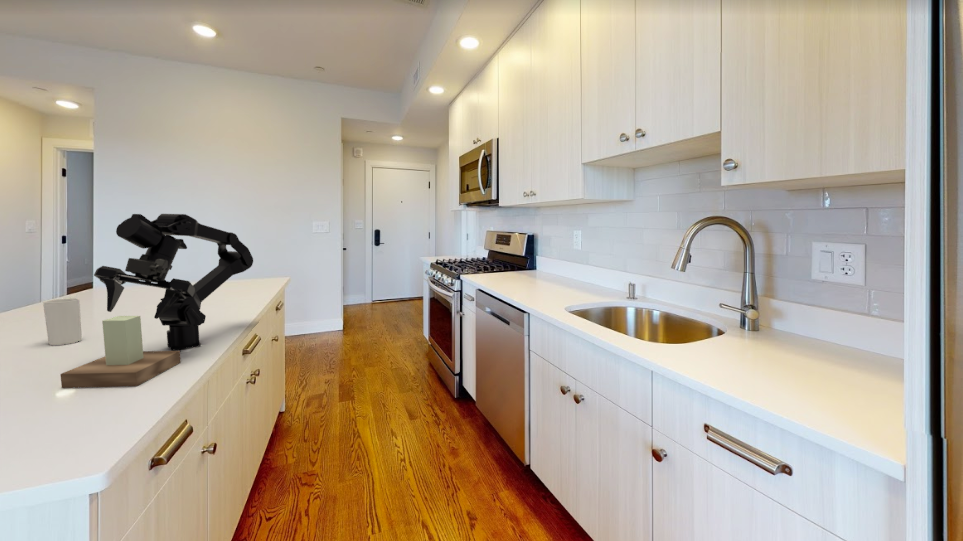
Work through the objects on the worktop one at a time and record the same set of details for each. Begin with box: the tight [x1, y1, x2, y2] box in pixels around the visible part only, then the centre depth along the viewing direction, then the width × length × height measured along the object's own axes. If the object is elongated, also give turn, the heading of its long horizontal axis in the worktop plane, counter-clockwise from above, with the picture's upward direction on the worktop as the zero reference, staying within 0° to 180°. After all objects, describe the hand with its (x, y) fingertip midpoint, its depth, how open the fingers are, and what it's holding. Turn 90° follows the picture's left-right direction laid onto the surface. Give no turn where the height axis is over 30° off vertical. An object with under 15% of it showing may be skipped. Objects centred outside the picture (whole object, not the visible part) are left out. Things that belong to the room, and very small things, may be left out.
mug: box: [42, 297, 83, 346], centre depth 106 cm, size 10×7×12 cm, turn 50°
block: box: [102, 315, 144, 365], centre depth 84 cm, size 4×4×10 cm
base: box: [59, 350, 182, 389], centre depth 85 cm, size 14×14×3 cm
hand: (132, 314), depth 91 cm, fingers open, 9 cm apart
